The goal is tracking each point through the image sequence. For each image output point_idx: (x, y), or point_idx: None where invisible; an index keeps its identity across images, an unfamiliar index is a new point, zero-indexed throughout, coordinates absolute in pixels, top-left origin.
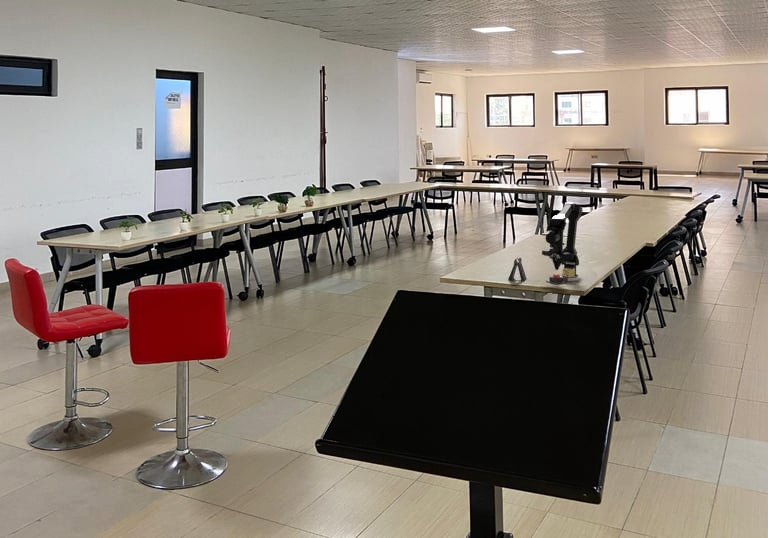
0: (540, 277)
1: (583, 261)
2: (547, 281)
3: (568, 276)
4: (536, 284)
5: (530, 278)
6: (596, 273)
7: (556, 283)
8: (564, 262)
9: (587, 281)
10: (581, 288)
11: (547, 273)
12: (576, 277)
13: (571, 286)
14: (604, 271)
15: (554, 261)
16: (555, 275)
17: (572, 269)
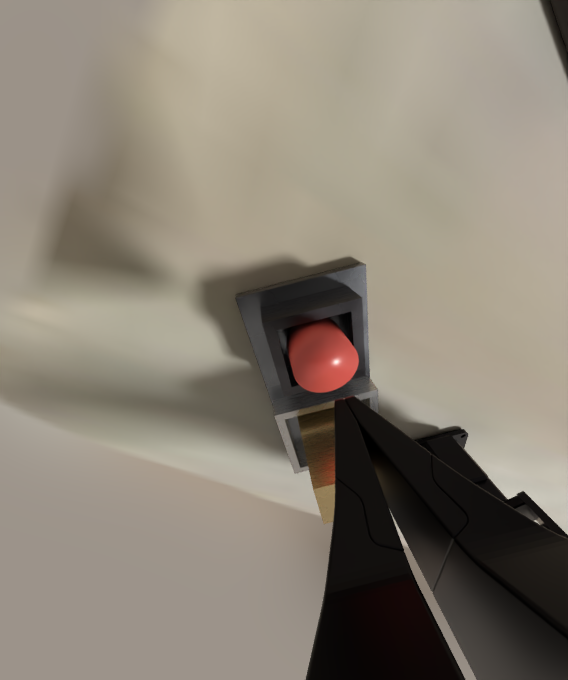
0: (517, 291)
1: (561, 528)
2: (350, 266)
3: (301, 434)
4: (283, 45)
5: (564, 178)
6: (395, 526)
7: (237, 302)
8: (534, 516)
9: (266, 478)
10: (43, 406)
11: (555, 381)
12: (291, 464)
13: (126, 372)
14: (406, 544)
15: (436, 519)
16: (303, 346)
17: (319, 509)
